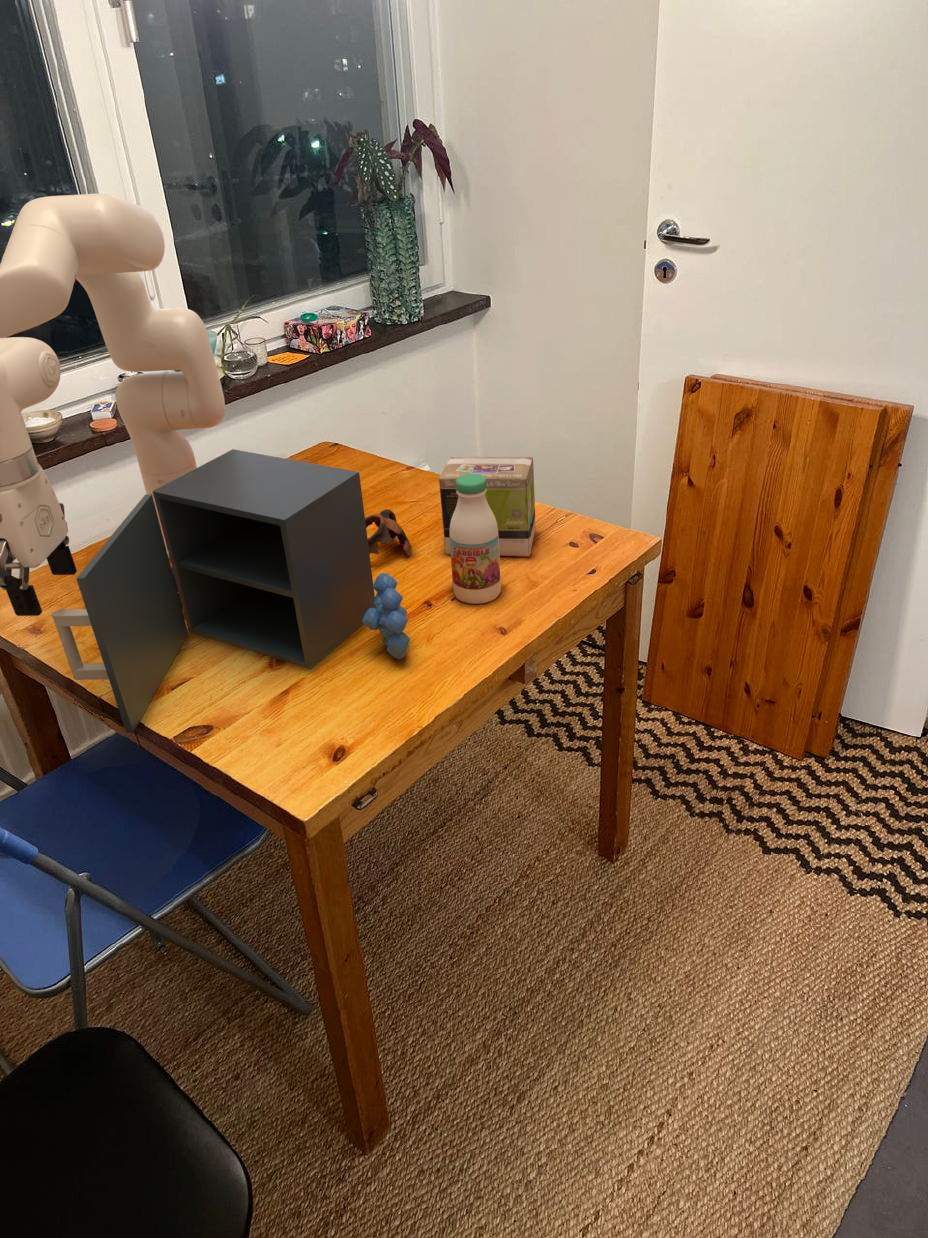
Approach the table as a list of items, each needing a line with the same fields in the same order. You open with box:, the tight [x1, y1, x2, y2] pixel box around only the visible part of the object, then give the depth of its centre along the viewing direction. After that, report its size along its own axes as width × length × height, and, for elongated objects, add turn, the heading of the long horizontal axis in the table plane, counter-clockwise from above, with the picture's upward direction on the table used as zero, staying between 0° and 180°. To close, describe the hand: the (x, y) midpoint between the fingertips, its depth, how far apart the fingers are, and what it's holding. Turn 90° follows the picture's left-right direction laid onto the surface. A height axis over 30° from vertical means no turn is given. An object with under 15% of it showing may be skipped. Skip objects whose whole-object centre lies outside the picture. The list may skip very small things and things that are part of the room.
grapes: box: [362, 573, 411, 660], centre depth 132 cm, size 12×7×12 cm, turn 16°
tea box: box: [438, 456, 536, 557], centre depth 158 cm, size 15×10×15 cm, turn 80°
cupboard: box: [153, 448, 376, 670], centre depth 137 cm, size 17×24×24 cm
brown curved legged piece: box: [365, 508, 413, 558], centre depth 161 cm, size 12×10×8 cm
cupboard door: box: [51, 493, 189, 734], centre depth 126 cm, size 8×24×24 cm, turn 177°
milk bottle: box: [450, 473, 502, 605], centre depth 142 cm, size 8×8×20 cm
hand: (47, 593), depth 115 cm, fingers open, 9 cm apart
